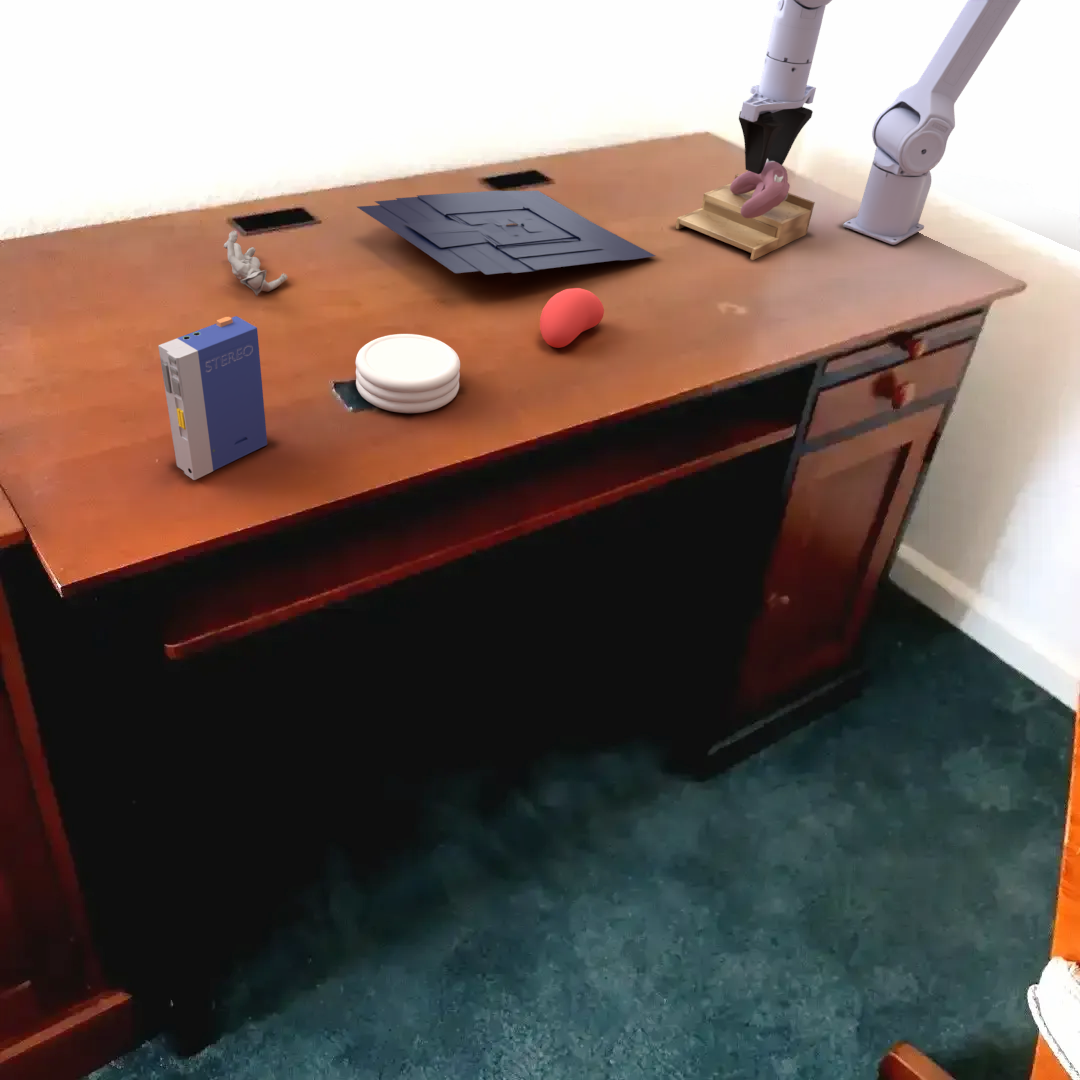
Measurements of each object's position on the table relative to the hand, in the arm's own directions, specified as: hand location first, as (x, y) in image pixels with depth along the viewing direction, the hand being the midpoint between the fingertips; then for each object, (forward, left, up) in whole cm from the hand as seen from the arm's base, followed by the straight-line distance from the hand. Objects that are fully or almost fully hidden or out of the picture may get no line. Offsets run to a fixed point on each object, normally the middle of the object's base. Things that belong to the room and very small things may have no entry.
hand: (764, 167), depth 139 cm
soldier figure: (+62, -27, -8) cm, 68 cm away
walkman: (+84, -1, -8) cm, 85 cm away
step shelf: (+2, 0, -8) cm, 9 cm away
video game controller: (+2, +1, -5) cm, 5 cm away
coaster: (+64, +1, -8) cm, 65 cm away
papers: (+32, -16, -8) cm, 37 cm away
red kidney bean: (+43, +4, -8) cm, 44 cm away
